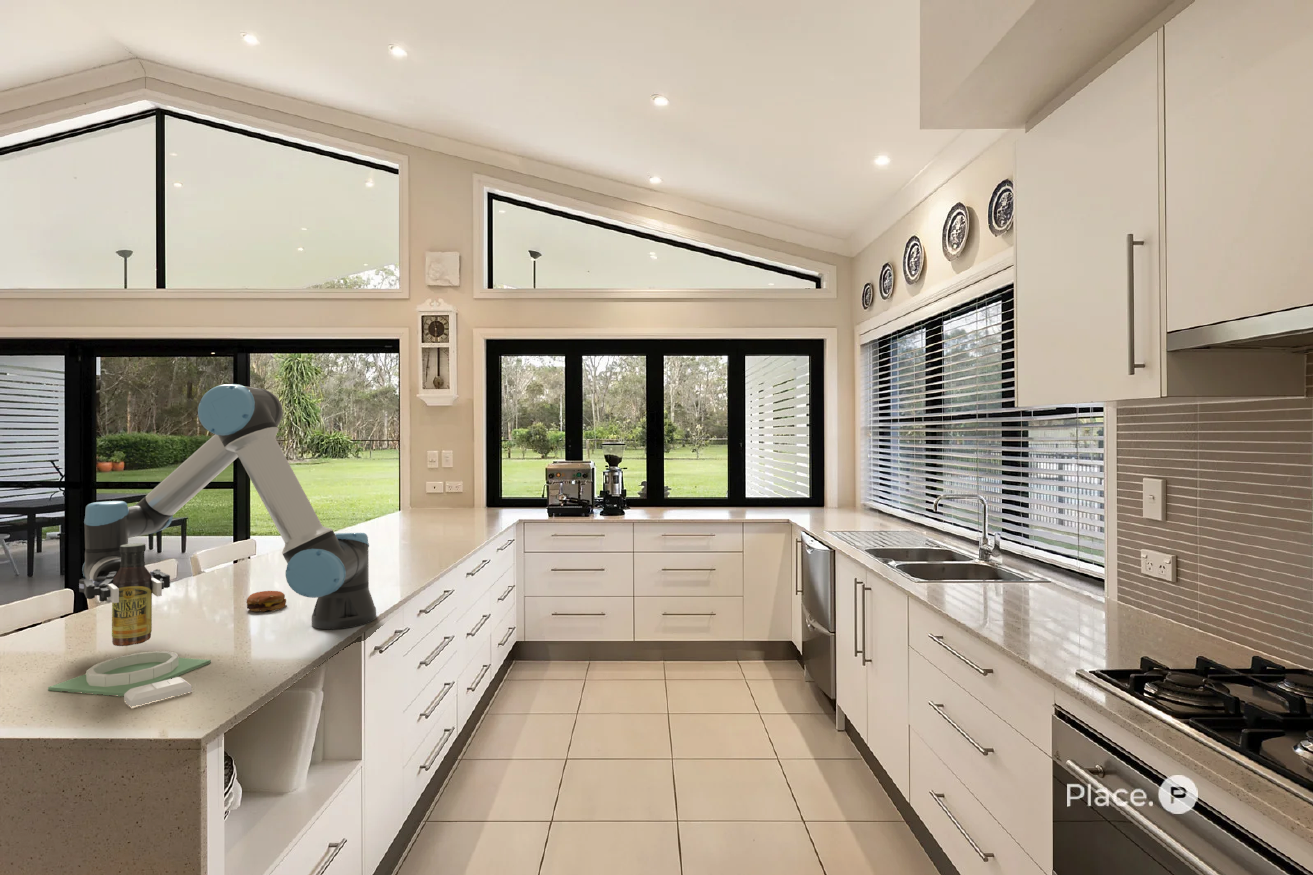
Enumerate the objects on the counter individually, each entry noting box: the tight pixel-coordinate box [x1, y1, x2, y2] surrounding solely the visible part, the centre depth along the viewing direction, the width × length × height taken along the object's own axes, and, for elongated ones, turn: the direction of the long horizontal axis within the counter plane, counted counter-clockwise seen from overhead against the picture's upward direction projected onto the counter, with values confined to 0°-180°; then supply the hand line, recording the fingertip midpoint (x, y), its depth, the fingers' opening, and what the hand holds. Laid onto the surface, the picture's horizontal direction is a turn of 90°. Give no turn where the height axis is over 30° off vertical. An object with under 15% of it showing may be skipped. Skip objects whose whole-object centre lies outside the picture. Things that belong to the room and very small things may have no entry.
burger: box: [245, 590, 287, 613], centre depth 179 cm, size 10×9×5 cm
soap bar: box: [123, 676, 193, 707], centre depth 118 cm, size 5×9×3 cm, turn 141°
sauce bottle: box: [111, 542, 153, 647], centre depth 128 cm, size 6×6×20 cm
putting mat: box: [47, 650, 212, 697], centre depth 129 cm, size 18×18×3 cm
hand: (138, 592), depth 125 cm, fingers closed on sauce bottle, 6 cm apart
